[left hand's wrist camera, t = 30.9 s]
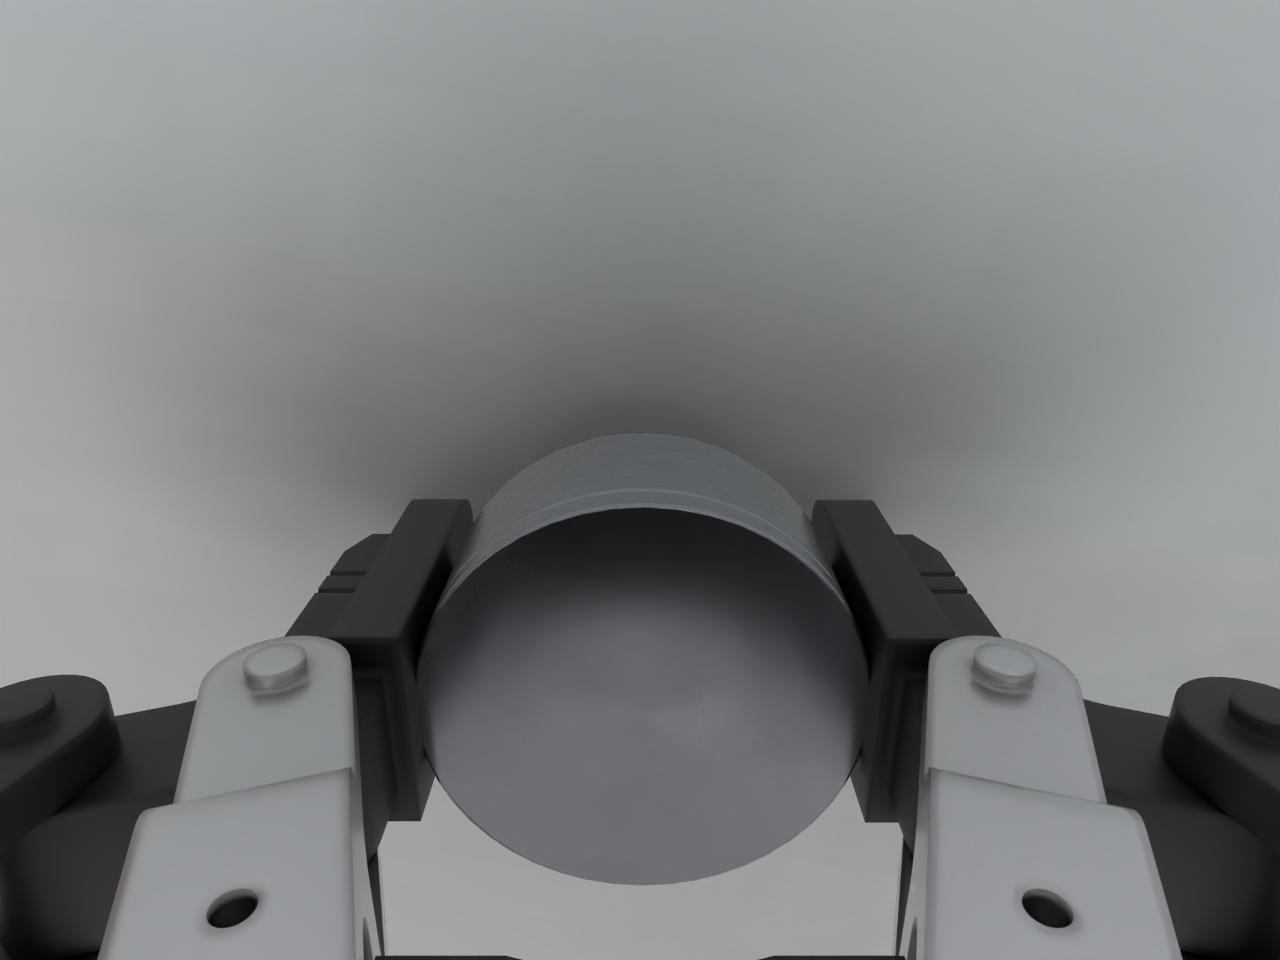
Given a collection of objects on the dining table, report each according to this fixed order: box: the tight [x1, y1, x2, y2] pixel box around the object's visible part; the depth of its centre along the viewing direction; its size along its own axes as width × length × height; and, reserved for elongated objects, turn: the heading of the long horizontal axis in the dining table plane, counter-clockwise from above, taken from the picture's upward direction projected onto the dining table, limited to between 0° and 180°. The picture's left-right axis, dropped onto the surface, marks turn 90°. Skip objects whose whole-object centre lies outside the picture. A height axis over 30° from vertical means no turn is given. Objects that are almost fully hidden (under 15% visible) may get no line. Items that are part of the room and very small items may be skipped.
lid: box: [415, 432, 870, 885], centre depth 10 cm, size 5×5×2 cm
